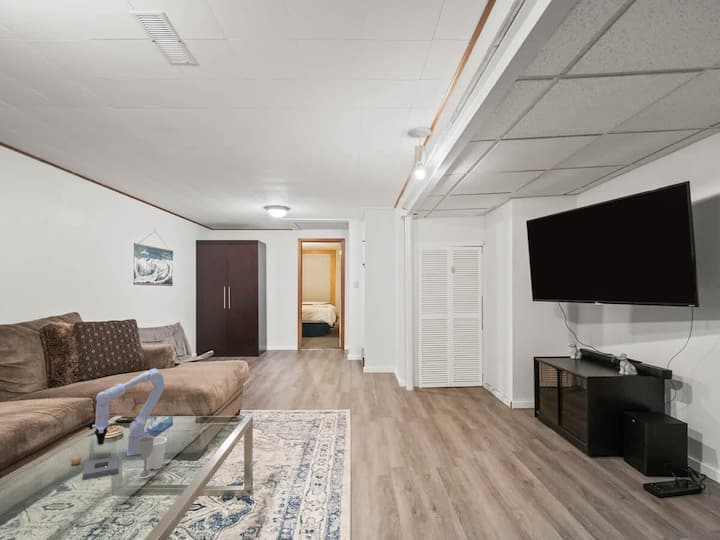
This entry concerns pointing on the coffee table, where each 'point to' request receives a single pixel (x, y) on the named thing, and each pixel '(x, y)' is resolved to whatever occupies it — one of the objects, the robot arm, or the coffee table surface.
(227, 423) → the coffee table surface
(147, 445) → the chalice
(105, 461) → the grey square frame
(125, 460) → the coffee table surface
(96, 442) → the steel ball
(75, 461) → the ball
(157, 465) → the foam cup
